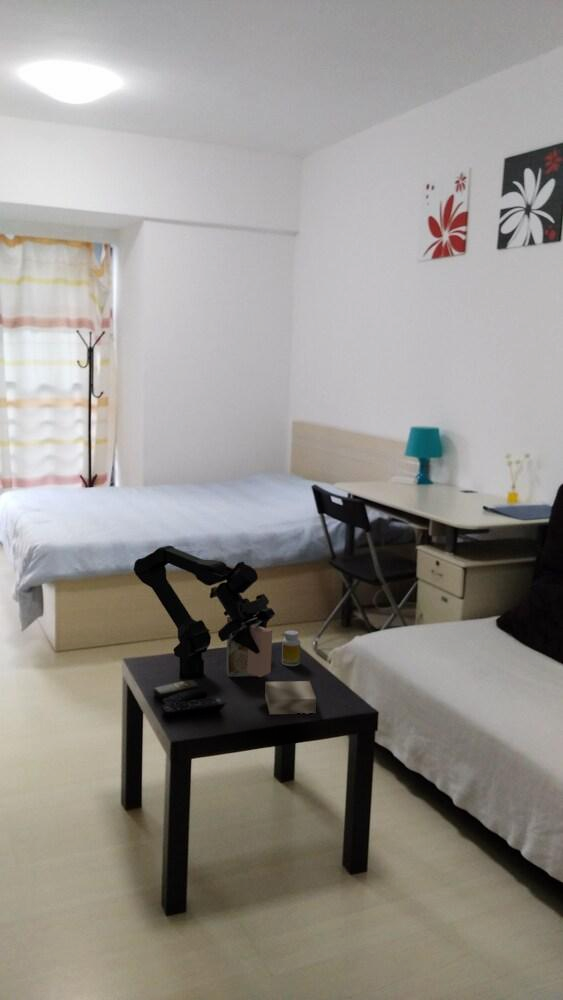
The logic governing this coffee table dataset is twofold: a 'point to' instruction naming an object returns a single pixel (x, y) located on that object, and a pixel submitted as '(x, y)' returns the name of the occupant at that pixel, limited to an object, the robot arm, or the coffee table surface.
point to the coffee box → (236, 657)
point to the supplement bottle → (291, 649)
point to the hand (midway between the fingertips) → (263, 650)
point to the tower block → (262, 660)
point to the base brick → (290, 697)
